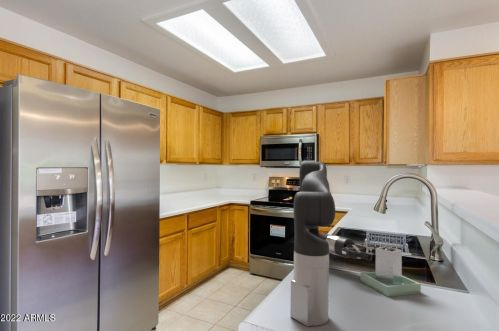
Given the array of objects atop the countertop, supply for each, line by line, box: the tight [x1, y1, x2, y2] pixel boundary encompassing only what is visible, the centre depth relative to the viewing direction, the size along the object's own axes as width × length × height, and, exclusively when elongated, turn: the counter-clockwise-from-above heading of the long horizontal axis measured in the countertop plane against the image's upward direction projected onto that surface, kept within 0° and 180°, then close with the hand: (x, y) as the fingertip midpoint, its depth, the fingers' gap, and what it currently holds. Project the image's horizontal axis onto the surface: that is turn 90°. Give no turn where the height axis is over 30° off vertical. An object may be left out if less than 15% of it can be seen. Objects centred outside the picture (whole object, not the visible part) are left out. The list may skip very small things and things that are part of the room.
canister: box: [375, 245, 403, 286], centre depth 94 cm, size 6×6×12 cm
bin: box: [360, 271, 422, 297], centre depth 94 cm, size 13×13×3 cm
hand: (378, 255), depth 97 cm, fingers open, 8 cm apart
